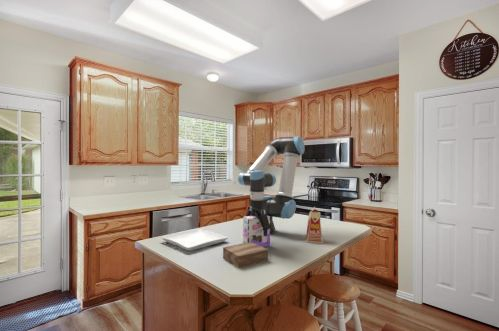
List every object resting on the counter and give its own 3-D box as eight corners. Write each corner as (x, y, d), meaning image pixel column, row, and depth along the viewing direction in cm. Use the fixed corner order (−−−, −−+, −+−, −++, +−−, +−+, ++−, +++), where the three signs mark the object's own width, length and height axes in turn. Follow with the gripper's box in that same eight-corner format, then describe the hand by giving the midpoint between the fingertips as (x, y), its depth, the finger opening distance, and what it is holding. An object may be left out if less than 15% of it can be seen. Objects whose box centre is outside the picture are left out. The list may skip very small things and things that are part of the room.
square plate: (188, 255, 130) (188, 247, 130) (159, 243, 148) (160, 236, 148) (228, 242, 150) (228, 236, 150) (199, 233, 168) (199, 227, 168)
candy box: (247, 250, 137) (247, 218, 136) (242, 246, 142) (242, 216, 142) (270, 246, 143) (270, 216, 143) (264, 243, 148) (265, 214, 148)
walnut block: (223, 257, 125) (223, 247, 125) (251, 251, 134) (251, 241, 134) (238, 267, 114) (238, 256, 114) (268, 260, 123) (268, 249, 123)
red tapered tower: (323, 243, 149) (323, 207, 149) (306, 242, 151) (306, 207, 151) (322, 238, 158) (322, 205, 158) (306, 237, 160) (306, 204, 160)
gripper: (238, 197, 150) (238, 234, 151) (265, 203, 130) (265, 246, 130) (249, 196, 154) (249, 232, 155) (277, 201, 134) (277, 243, 134)
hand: (256, 238), depth 142 cm, fingers open, 13 cm apart
